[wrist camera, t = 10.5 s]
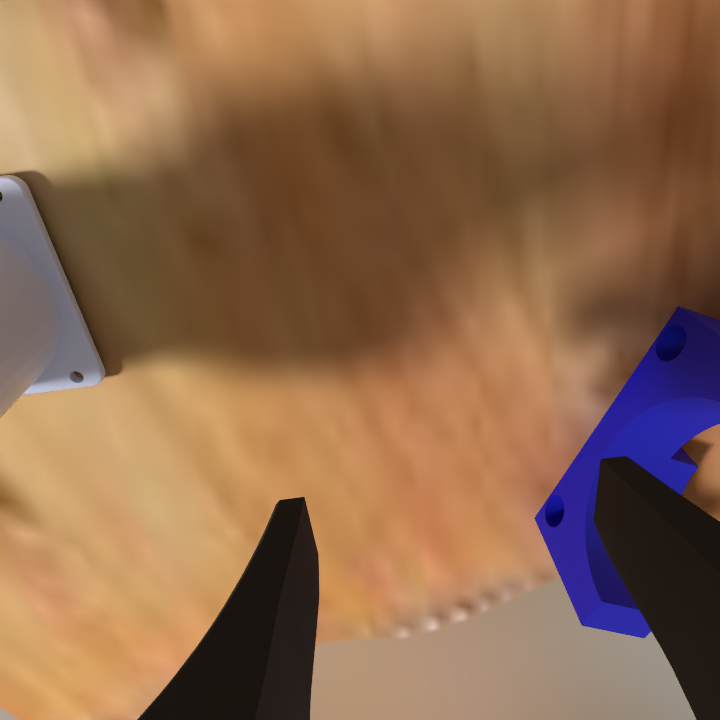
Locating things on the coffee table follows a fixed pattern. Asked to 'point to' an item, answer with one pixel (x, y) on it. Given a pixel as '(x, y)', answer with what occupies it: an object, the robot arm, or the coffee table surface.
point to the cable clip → (645, 447)
